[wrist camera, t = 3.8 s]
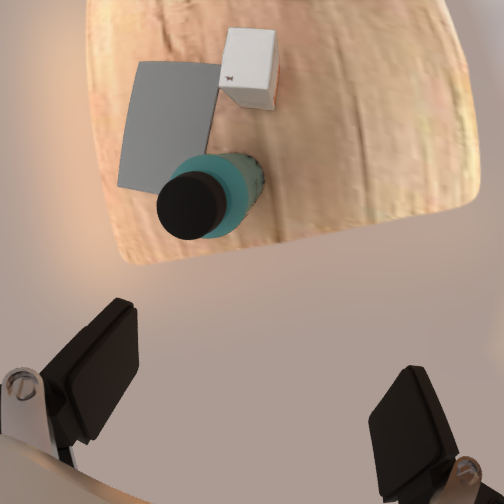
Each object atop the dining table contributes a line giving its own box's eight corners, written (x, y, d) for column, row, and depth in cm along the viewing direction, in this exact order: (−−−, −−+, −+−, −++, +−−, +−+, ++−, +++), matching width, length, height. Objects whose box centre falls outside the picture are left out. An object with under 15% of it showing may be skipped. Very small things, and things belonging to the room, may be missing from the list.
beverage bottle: (215, 203, 36) (141, 262, 18) (214, 151, 34) (131, 158, 15) (267, 204, 35) (241, 268, 17) (267, 150, 33) (239, 151, 14)
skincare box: (275, 111, 31) (268, 92, 20) (240, 107, 32) (215, 88, 20) (281, 66, 29) (276, 28, 18) (246, 63, 29) (226, 26, 18)
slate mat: (141, 62, 30) (139, 61, 30) (224, 66, 30) (223, 65, 29) (119, 186, 37) (117, 186, 36) (196, 201, 36) (195, 202, 36)
